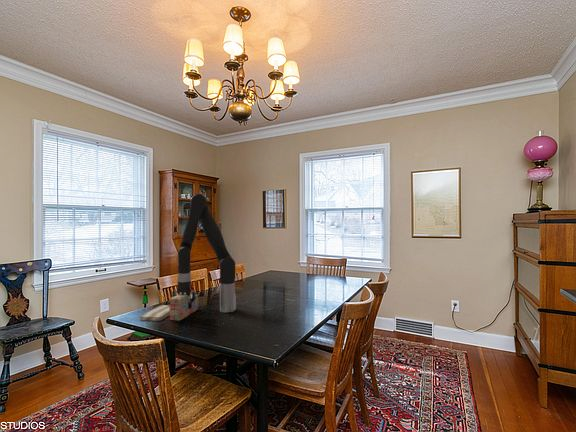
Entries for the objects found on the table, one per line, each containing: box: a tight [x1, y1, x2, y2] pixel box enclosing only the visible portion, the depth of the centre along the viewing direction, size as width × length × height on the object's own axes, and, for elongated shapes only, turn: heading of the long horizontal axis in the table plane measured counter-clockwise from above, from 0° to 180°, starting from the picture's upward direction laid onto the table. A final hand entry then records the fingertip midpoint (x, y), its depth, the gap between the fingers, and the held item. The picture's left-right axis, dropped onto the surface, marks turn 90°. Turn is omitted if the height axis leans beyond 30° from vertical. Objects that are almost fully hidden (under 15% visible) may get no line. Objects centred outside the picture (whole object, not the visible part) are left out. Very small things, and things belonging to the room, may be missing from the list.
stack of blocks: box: [169, 293, 199, 322], centre depth 177 cm, size 21×6×12 cm, turn 168°
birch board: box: [139, 304, 170, 322], centre depth 178 cm, size 12×22×2 cm, turn 174°
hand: (184, 308), depth 176 cm, fingers closed on stack of blocks, 6 cm apart
